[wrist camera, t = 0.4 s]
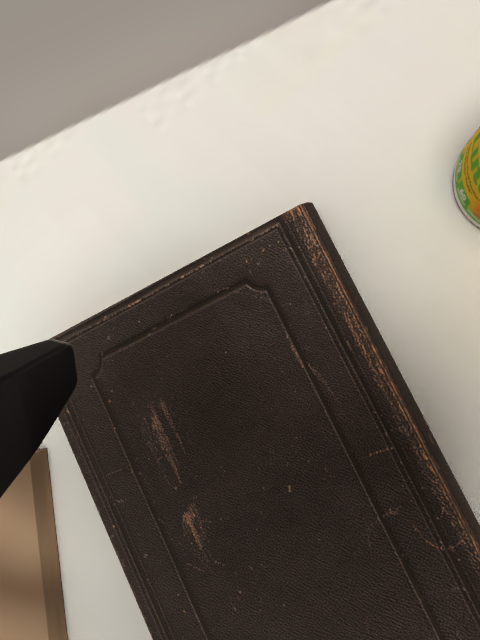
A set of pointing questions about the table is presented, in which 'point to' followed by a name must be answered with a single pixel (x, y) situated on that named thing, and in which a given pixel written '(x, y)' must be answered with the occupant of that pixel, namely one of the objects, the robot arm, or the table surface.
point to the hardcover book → (268, 454)
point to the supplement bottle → (469, 179)
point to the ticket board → (30, 558)
